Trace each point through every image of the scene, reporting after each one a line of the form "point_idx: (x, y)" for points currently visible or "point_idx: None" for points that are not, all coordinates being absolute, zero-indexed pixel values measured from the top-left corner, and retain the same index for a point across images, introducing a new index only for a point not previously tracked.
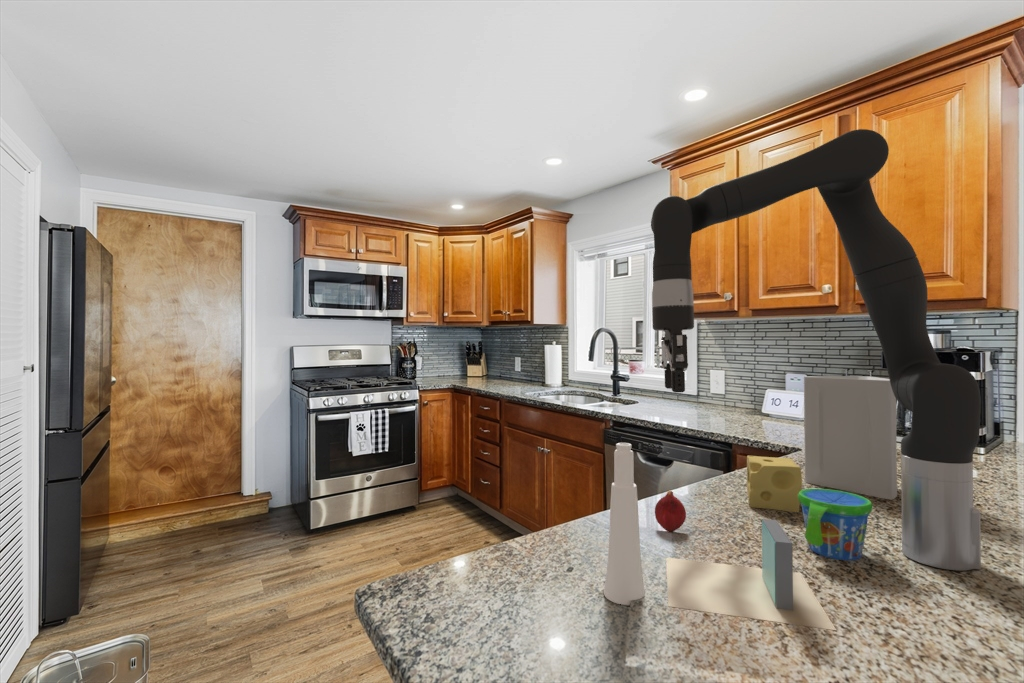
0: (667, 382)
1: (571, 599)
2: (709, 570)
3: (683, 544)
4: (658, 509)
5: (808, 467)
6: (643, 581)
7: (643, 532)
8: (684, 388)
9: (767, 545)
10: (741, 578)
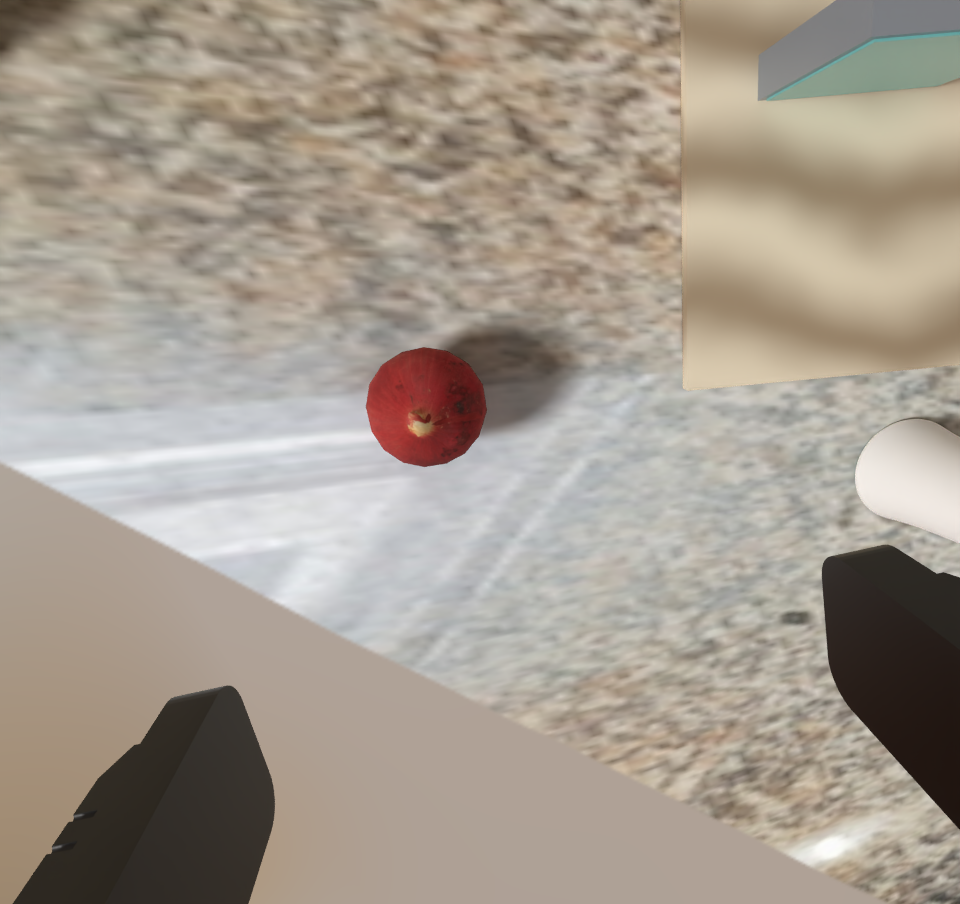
0: (249, 851)
1: None
2: (746, 261)
3: (523, 345)
4: (463, 452)
5: None
6: (938, 433)
7: (464, 478)
8: (911, 561)
9: (936, 52)
10: (778, 167)
